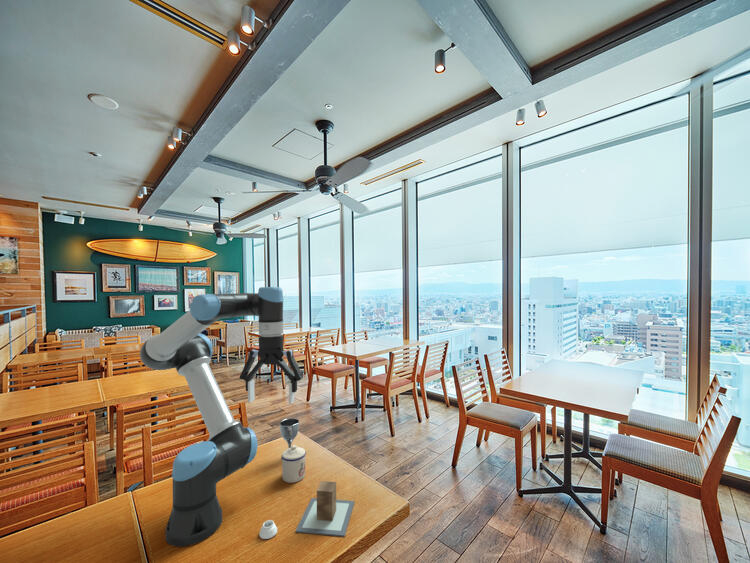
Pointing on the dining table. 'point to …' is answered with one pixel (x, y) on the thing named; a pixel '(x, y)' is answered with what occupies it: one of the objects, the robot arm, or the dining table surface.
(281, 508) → the dining table surface
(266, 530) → the lidless jar
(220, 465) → the robot arm
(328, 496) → the block
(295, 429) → the silver goblet
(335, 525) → the coaster
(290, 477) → the teacup with lid
